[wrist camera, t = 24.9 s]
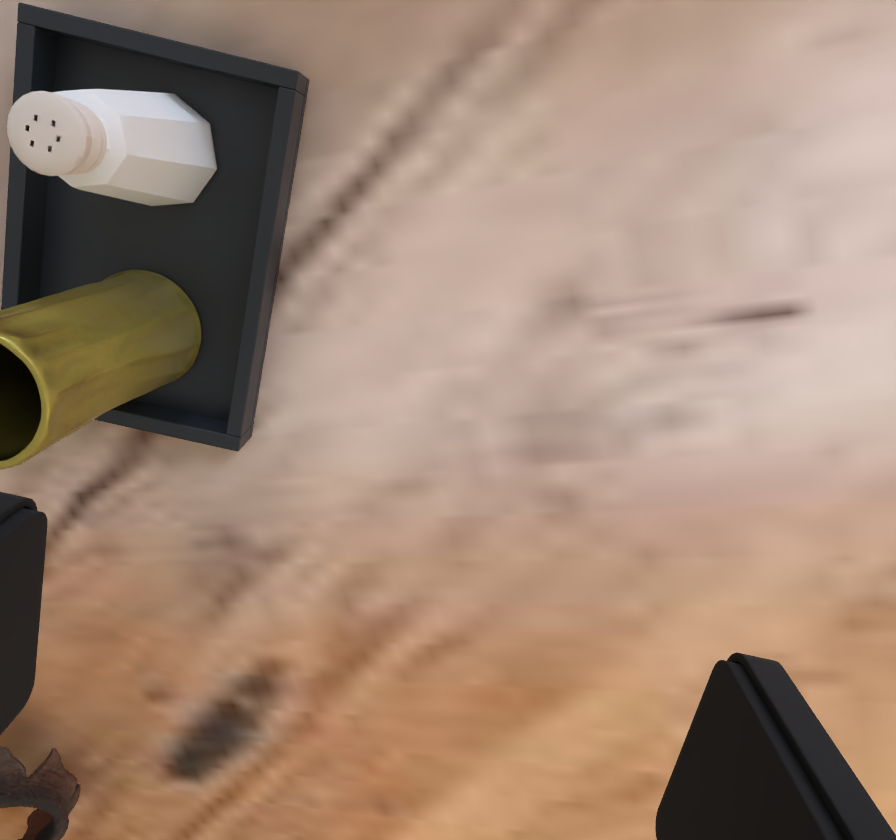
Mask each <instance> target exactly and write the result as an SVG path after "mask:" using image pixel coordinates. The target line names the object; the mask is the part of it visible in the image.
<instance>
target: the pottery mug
mask: <svg viewBox="0 0 896 840" xmlns="http://www.w3.org/2000/svg"><path fill="white" fill-rule="evenodd" d="M79 793H80V785H79V784H78V783H77V779H76V778H75V776H74V775H73V774H71V773H69V772H68V771H67V770H66V769H65V768H64V767H63V765H62V763H61V758H60V755H59V753H58V751H57V749H56V748H53V749H52V750H51V752H50V754H49V756H48V757H47V759H46V760H45V761H44V762H43V763H42V764H41V765H40V766H39V767H38V768H37V769H36V770H35V771H34V772H33V774H31V775H30V776H29V777H28V778H27V776H26V770H25V767H24V766H23V764H22V763H21V762H19V761H18V760H17V759H16V758H15V757H14V756H13V755H12V754H11V752H10V750H9V749H7V748H6V747H1V746H0V808H7V807H16V806H23V807H27V806H28V807H33V808H37V809H36V810H35V811H34V812H32V813H31V814H30V815H29V817H28V821H27V825H28V829H27V831H26V833H25V835H24V837H23V838H22V839H18V840H60V839H61V838H62V837H63V836H64V834H65V832H66V830H67V829H68V823H69V819H68V815H69V813H70V812H71V810H72V809H73V808H74V806H75V804H76V802H77V800H78V798H79Z"/></svg>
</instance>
